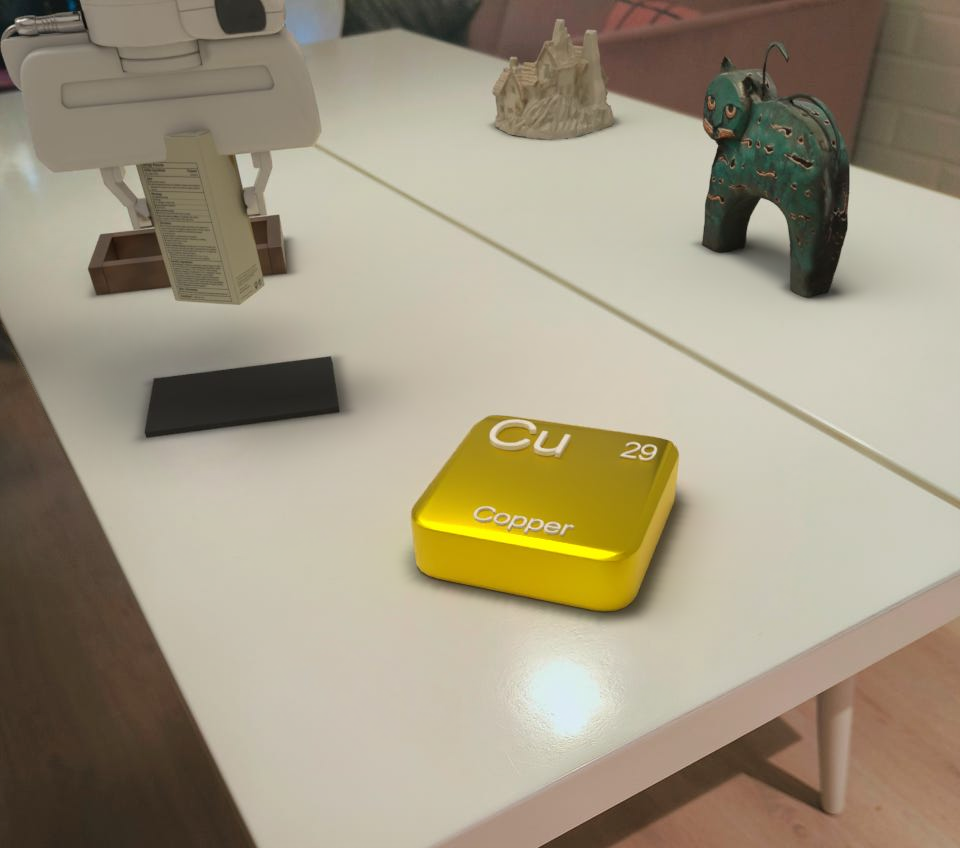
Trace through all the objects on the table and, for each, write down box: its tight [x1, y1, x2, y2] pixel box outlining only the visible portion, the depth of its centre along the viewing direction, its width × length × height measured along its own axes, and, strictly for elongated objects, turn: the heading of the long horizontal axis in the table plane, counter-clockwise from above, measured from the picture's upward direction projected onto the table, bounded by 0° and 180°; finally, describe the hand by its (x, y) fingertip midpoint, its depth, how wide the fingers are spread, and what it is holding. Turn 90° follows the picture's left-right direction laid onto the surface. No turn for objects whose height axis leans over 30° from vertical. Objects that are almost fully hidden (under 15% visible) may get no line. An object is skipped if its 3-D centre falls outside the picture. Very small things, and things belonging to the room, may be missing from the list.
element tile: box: [410, 414, 680, 612], centre depth 63 cm, size 15×15×5 cm
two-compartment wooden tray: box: [87, 214, 288, 296], centre depth 105 cm, size 20×11×3 cm, turn 100°
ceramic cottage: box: [491, 18, 615, 141], centre depth 140 cm, size 16×16×15 cm
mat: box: [144, 355, 340, 439], centre depth 81 cm, size 16×10×1 cm, turn 100°
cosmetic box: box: [135, 130, 265, 306], centre depth 72 cm, size 6×4×12 cm
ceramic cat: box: [701, 40, 851, 299], centre depth 92 cm, size 20×6×20 cm, turn 23°
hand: (202, 220), depth 72 cm, fingers closed on cosmetic box, 7 cm apart
